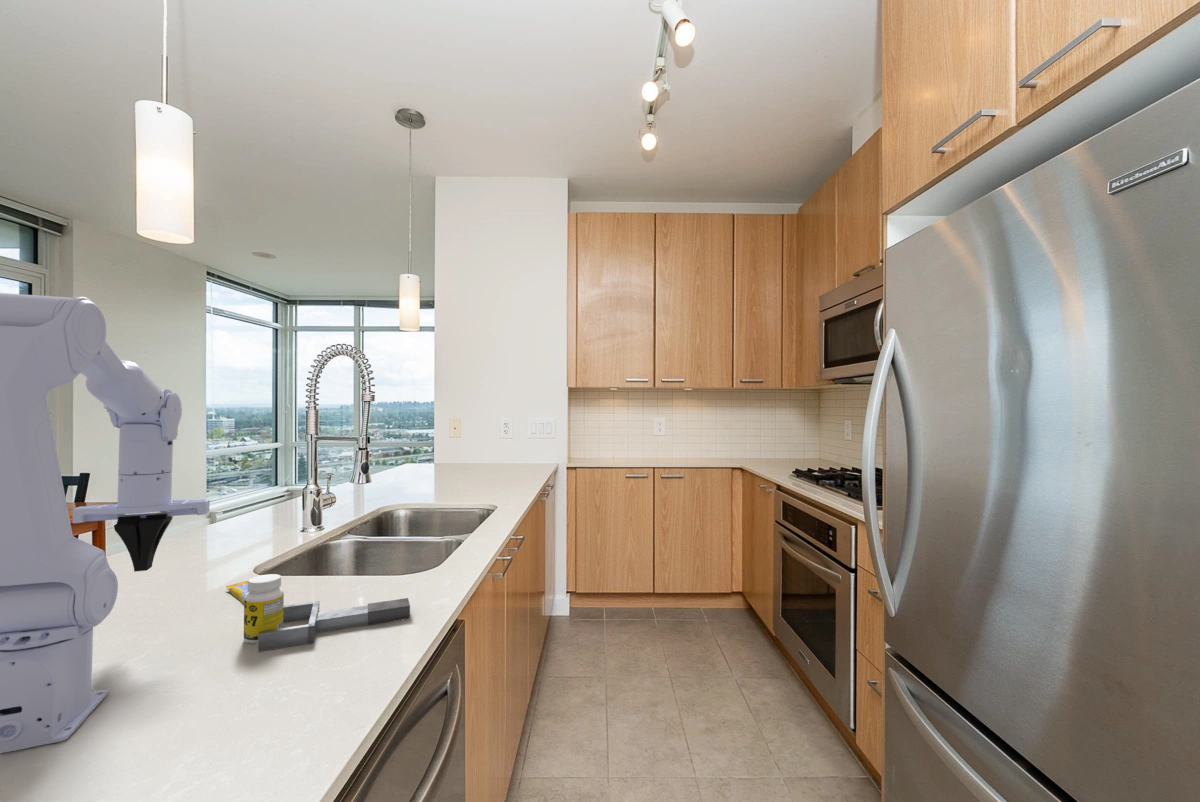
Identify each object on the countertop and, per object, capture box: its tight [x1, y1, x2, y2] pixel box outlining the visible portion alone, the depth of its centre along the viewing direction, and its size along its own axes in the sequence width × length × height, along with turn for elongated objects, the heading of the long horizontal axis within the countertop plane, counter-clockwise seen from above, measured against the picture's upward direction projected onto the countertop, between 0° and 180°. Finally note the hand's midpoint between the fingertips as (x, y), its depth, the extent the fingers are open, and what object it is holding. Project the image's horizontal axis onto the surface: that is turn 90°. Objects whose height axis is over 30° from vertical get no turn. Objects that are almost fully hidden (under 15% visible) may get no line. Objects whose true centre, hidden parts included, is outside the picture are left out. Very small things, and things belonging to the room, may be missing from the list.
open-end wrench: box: [257, 597, 411, 653], centre depth 77 cm, size 10×20×2 cm, turn 115°
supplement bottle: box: [243, 573, 285, 645], centre depth 73 cm, size 5×5×8 cm
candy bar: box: [226, 580, 249, 605], centre depth 87 cm, size 17×4×2 cm, turn 48°
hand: (143, 569), depth 72 cm, fingers closed
